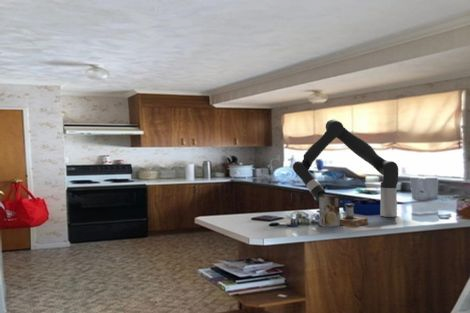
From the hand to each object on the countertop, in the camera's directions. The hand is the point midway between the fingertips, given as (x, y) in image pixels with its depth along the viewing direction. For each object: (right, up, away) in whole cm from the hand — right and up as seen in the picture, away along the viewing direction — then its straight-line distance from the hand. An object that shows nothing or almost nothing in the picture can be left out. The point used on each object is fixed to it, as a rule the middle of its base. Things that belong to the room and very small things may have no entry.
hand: (331, 210), depth 260 cm
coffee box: (-4, -7, -14) cm, 16 cm away
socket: (+8, -6, -8) cm, 13 cm away
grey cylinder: (+8, -6, -8) cm, 13 cm away
